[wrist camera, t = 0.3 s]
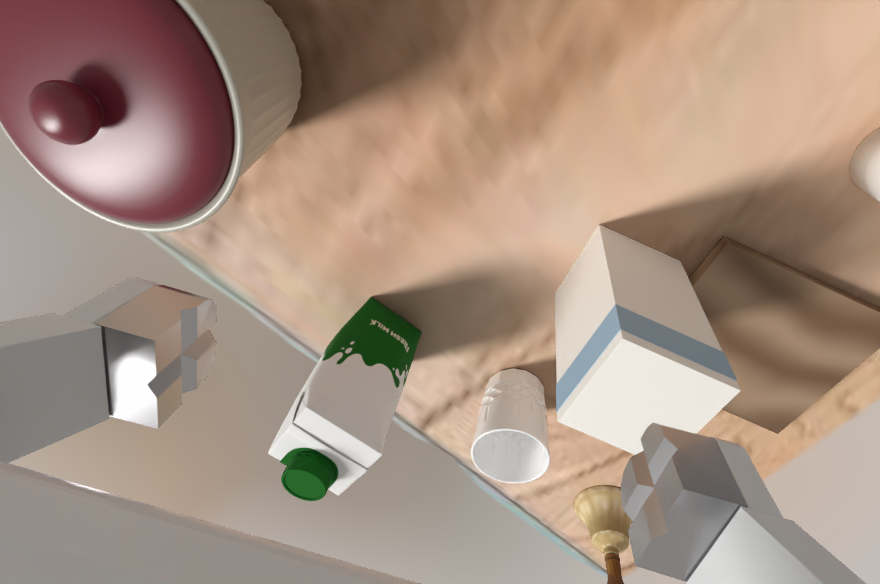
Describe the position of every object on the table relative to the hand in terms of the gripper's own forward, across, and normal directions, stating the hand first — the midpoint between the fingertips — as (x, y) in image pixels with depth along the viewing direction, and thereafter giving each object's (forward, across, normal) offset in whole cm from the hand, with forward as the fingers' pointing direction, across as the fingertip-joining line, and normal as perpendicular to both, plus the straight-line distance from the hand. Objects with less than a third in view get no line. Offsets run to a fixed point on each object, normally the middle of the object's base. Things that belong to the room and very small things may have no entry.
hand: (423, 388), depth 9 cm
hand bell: (+44, -26, +44) cm, 67 cm away
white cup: (+42, -10, +29) cm, 52 cm away
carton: (+40, -15, +12) cm, 44 cm away
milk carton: (+42, +7, +26) cm, 50 cm away
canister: (+40, +24, +1) cm, 46 cm away
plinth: (+40, -29, +14) cm, 52 cm away
